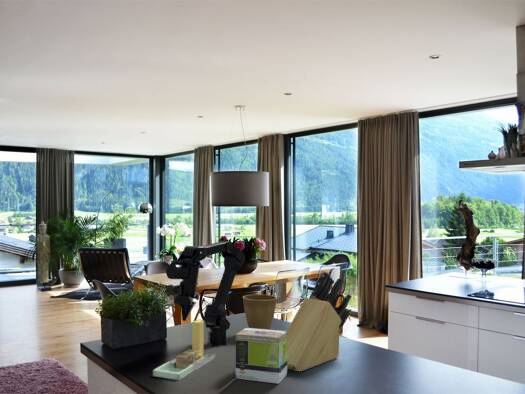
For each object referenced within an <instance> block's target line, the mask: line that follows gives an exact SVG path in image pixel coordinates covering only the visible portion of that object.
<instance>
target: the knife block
mask: <svg viewBox="0 0 525 394" xmlns="http://www.w3.org/2000/svg"><path fill="white" fill-rule="evenodd" d="M330 275H331V274H330V273H329V272H328V271H324V273H322V274H321V276H320V277H319V278H318V280H317V282H316V284H315V285H314V287H313V289H312V291H311V294H310V295H309V296H308V297H305V298H304V299H303V301H302V303H301V305H300V306H299V309H298V310H297V312H296V313H295V315H294V317H293V319H292V321H291V322H290V324H289V326H288V328H287V329H286V331H287V370H288V369H289V370H292V371H295V372H298V371H299V372H298V373H300V371H301V372H302V371H306V370H309V369H311V368H314V367H315V366H319V365H321V364H323V363H326V362H329V361H332V360H334V358H335V359H336V358H339V355H340V354H339V353H340V352H339V351H340V331H341V330H342V328H343V327H344V325H345V323H346V322H347V320H348V318H349V316H350V315H351V313H352V309H349V308H347V307H348V304H349V302H350V300H351V298H353V297H352V294H348V293H347V294H346V295H345V296H344V295H343V294H338V293H339V291H340V289H341V288H342V286H343V283H344V281H343V279H341V278H337V279H336V281H335V280H334V279H333V278H332V276H330ZM339 298H342V301H341V302H340V305H338V306H337V303H338V300H339Z"/></svg>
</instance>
